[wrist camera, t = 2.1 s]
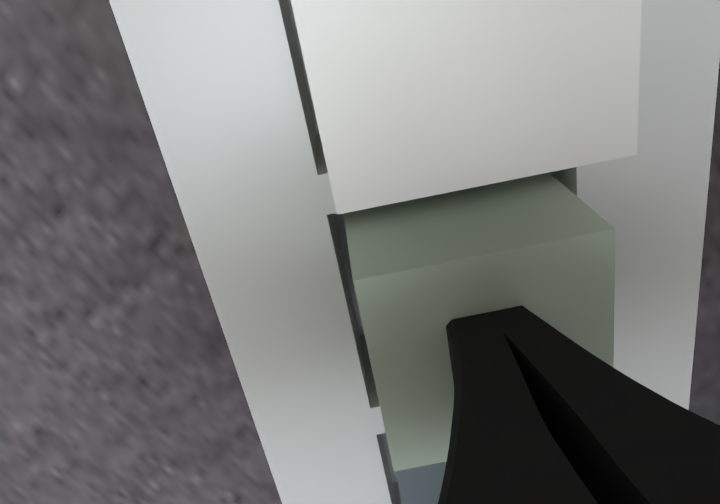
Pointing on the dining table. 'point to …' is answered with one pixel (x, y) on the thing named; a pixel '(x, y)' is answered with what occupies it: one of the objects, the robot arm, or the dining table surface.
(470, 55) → the key cream
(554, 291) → the key sage
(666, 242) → the key strip
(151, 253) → the dining table surface
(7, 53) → the dining table surface
